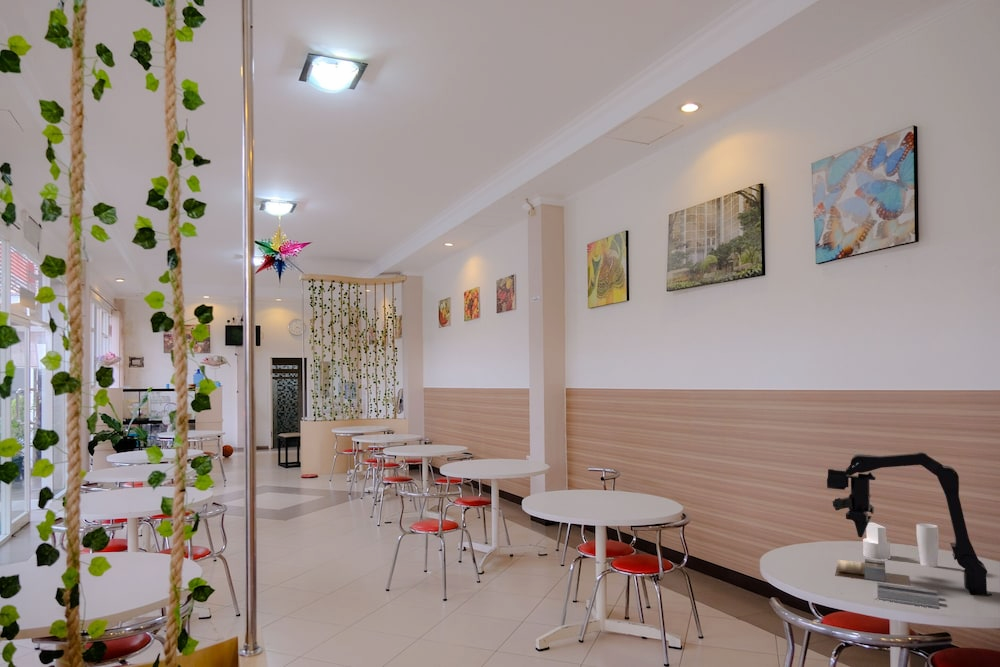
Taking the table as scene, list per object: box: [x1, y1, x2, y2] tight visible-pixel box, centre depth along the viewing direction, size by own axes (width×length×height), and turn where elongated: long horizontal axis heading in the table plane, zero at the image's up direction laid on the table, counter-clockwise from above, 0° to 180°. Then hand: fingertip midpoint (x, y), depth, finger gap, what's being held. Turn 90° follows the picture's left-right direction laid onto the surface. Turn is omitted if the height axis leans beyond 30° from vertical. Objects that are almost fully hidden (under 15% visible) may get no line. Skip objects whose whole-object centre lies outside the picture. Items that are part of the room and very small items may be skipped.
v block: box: [876, 582, 940, 610], centre depth 206 cm, size 16×9×3 cm, turn 60°
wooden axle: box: [837, 559, 884, 575], centre depth 229 cm, size 14×4×4 cm, turn 60°
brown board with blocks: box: [834, 558, 911, 587], centre depth 227 cm, size 22×12×5 cm, turn 60°
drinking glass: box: [915, 522, 940, 568], centre depth 240 cm, size 7×7×15 cm
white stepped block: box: [862, 521, 892, 561], centre depth 254 cm, size 9×9×12 cm
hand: (860, 537), depth 229 cm, fingers closed
